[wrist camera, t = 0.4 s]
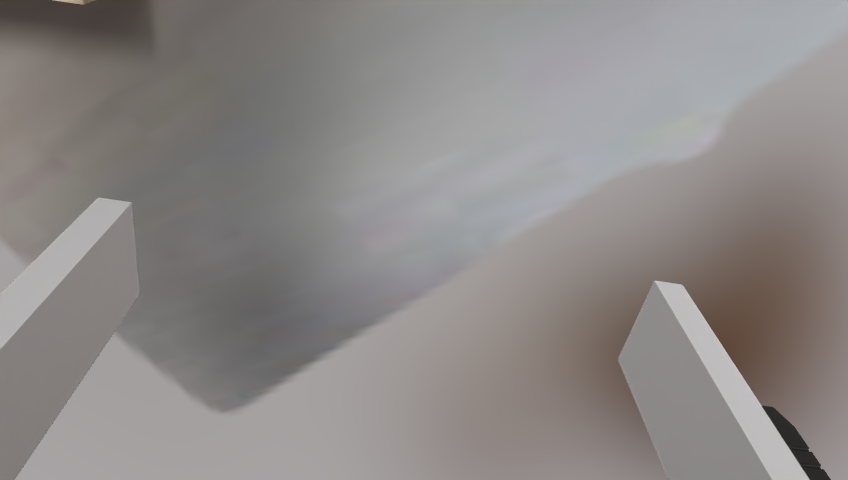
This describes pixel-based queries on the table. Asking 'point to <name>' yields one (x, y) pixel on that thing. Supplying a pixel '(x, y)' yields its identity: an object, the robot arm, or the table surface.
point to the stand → (77, 1)
